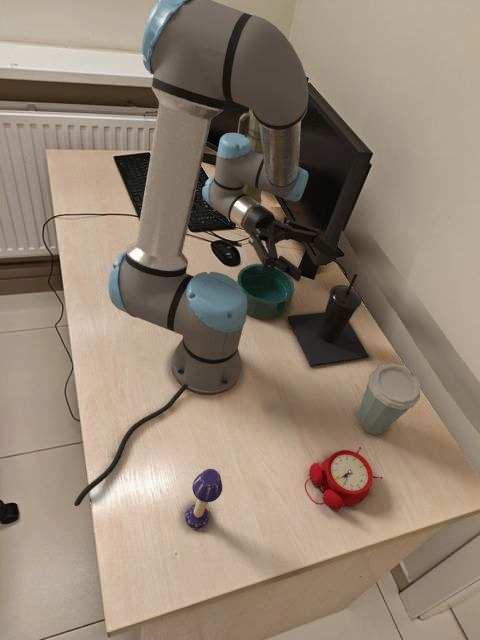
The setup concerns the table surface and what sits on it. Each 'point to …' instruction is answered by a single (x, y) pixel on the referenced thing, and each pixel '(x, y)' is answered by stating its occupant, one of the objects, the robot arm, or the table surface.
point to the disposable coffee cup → (387, 397)
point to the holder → (320, 350)
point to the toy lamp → (203, 497)
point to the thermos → (256, 142)
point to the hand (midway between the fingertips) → (318, 265)
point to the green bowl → (266, 291)
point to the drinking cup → (339, 311)
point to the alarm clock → (342, 479)
